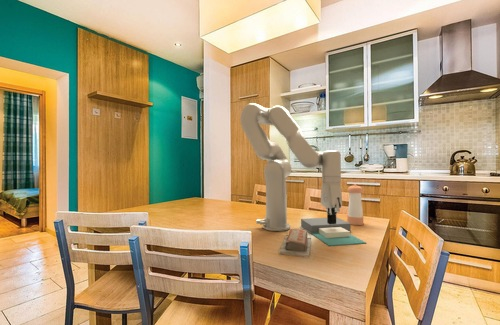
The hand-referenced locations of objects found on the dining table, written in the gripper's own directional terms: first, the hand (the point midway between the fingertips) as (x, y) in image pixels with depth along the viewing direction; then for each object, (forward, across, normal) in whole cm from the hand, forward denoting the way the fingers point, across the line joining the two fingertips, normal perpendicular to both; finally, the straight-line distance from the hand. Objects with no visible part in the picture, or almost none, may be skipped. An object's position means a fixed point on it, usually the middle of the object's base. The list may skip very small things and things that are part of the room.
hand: (331, 223), depth 102 cm
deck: (+4, -8, +1) cm, 9 cm away
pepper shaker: (+5, -14, +20) cm, 25 cm away
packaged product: (+5, +11, -20) cm, 23 cm away
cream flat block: (+4, +2, 0) cm, 4 cm away
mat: (+4, +5, -1) cm, 7 cm away
